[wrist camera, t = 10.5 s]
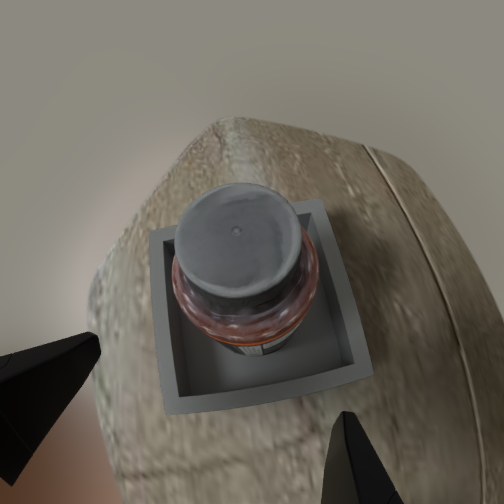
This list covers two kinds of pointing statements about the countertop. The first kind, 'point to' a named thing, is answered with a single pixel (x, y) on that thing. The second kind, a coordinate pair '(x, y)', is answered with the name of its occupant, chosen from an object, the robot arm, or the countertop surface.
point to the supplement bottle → (244, 268)
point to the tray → (267, 366)
